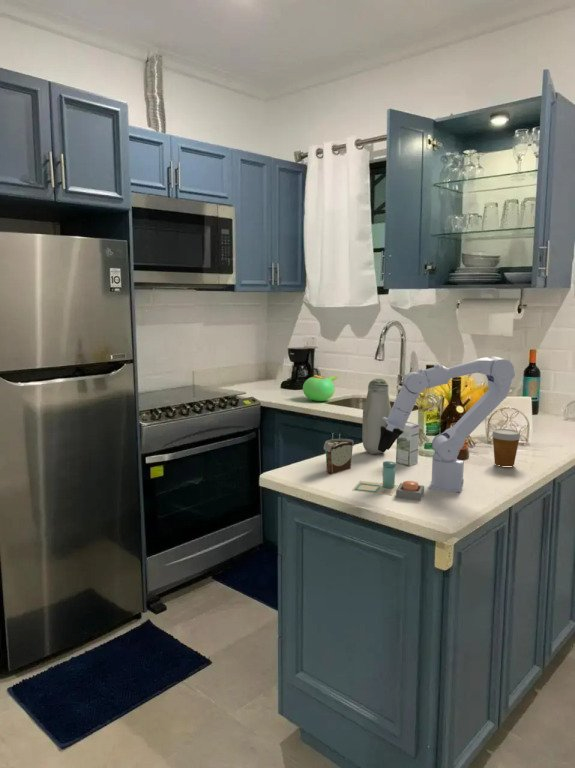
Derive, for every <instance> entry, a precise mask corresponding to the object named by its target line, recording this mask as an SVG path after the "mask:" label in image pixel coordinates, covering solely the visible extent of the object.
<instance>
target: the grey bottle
mask: <svg viewBox="0 0 575 768" xmlns="http://www.w3.org/2000/svg"><path fill="white" fill-rule="evenodd" d="M389 386H390V385H389V383H388V381H387V380H386V379H384V378H373V379H372V380H370V381H369V383H368V385H367V394H366V399H365V402H364V405H363V409H362V432H361V433H362V436H361V437H362V438H361V439H362V440H361V441H362V446H363V448H364V450H365V452H367V453H370V454H372V455H380V454H384V453H383V452H381V451H379V450H378V445H379V441H380V436H381V430H380V429H381V426H384V427H386V425H388V424H387V423H386V421H385V420H383V417H386V418H388V415H389V413H390V411H391V409H392V407H391V402H390V391H389V390H390V387H389Z"/></svg>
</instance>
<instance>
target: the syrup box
mask: <svg viewBox="0 0 575 768" xmlns="http://www.w3.org/2000/svg"><path fill="white" fill-rule="evenodd" d="M400 430H402V431H404V432H403V433H402V434H401V435H400V436H399V437H398V438H397V439H396V448H395V449H396V452H395V453H396V455H395V463H396V464H401V465H404V466H408V467H409V466H410V467H411V466H414V465H416V464H418V462H419V461H418V459H419V457H418V456H419V438H420V437H419V434H420V423H419V422H414V421H413V422H412V421H408V420H407V422H406V424H405V428H404V429H400Z"/></svg>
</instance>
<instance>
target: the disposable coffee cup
mask: <svg viewBox="0 0 575 768" xmlns="http://www.w3.org/2000/svg"><path fill="white" fill-rule="evenodd" d="M491 437H492V442H493V457H494V458H493V459H494V465H495V464H496V465H500V466H513V465H514V466H515V462H516V457H517V453H518V447H519V443H520V442H519V441H520V439H521V437H522V436H521V434H520V431H518V430H514V429H509V428H496V429H495V428H494V429H493V431H492V433H491ZM496 465H495V466H496ZM514 466H513V467H514Z"/></svg>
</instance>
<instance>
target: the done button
mask: <svg viewBox="0 0 575 768" xmlns="http://www.w3.org/2000/svg"><path fill="white" fill-rule="evenodd" d="M402 483H403V490H409V491H417V492H418V485H419V483H418V482H417V481H414V480H405V481H403V482H402Z"/></svg>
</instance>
